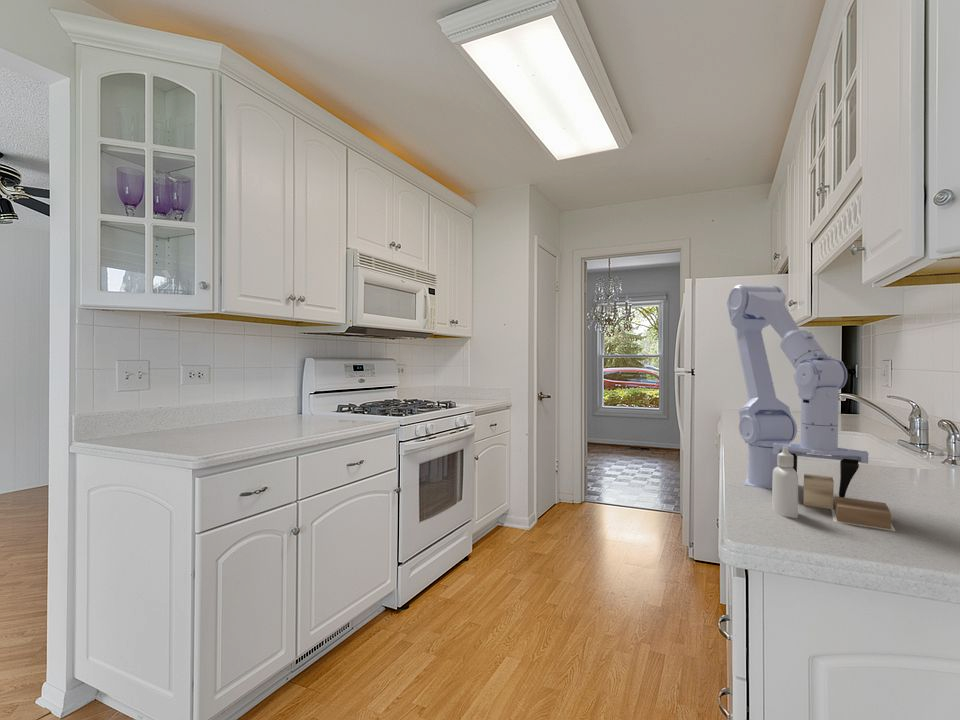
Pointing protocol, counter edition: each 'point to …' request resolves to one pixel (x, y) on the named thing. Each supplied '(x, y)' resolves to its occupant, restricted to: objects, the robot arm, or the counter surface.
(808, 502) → the beech block
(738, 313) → the robot arm
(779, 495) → the eye dropper bottle
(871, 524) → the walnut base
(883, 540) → the counter surface
